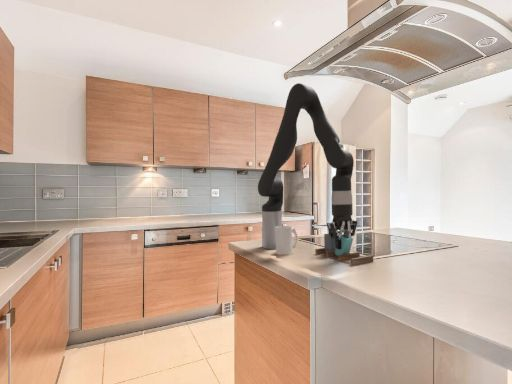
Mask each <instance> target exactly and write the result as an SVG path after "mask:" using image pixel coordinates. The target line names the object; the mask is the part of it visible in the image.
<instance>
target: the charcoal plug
mask: <svg viewBox="0 0 512 384" xmlns="http://www.w3.org/2000/svg"><path fill="white" fill-rule="evenodd" d="M327 231H328V233H324V235H323V236H324V239H323V241H324V243H323V244H324V245H323V246H324V248H325V254H326V252H329V251H335V250H336V247H335V238H331V237H330V234H329V230H328V229H327Z"/></svg>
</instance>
